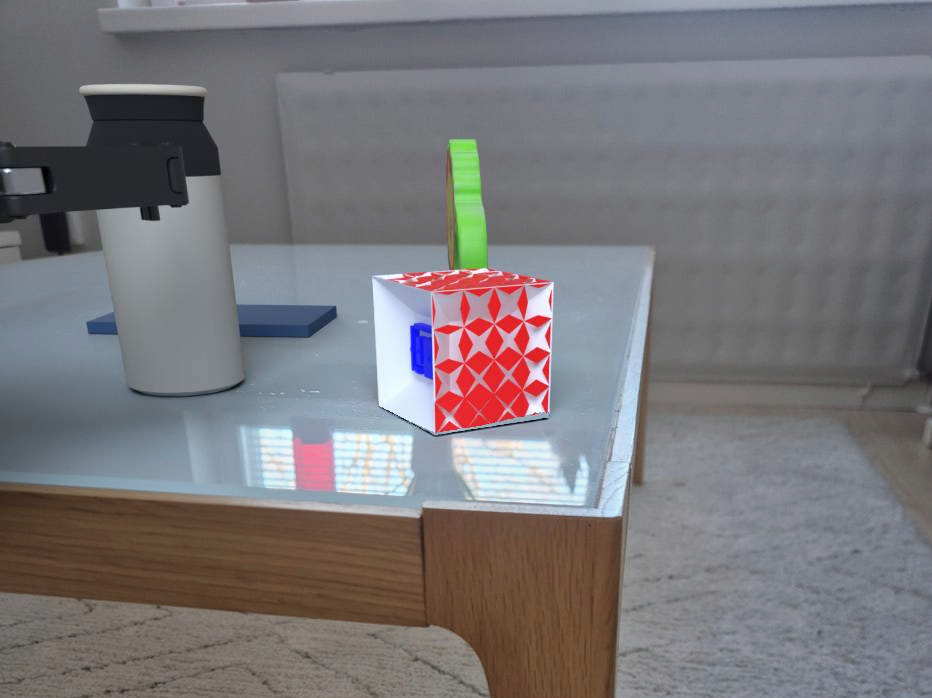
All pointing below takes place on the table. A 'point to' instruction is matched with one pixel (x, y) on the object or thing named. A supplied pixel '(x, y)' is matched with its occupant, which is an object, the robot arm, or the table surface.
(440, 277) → the red patterned cube box
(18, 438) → the table surface
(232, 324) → the travel mug
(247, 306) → the blue mat
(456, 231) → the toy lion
